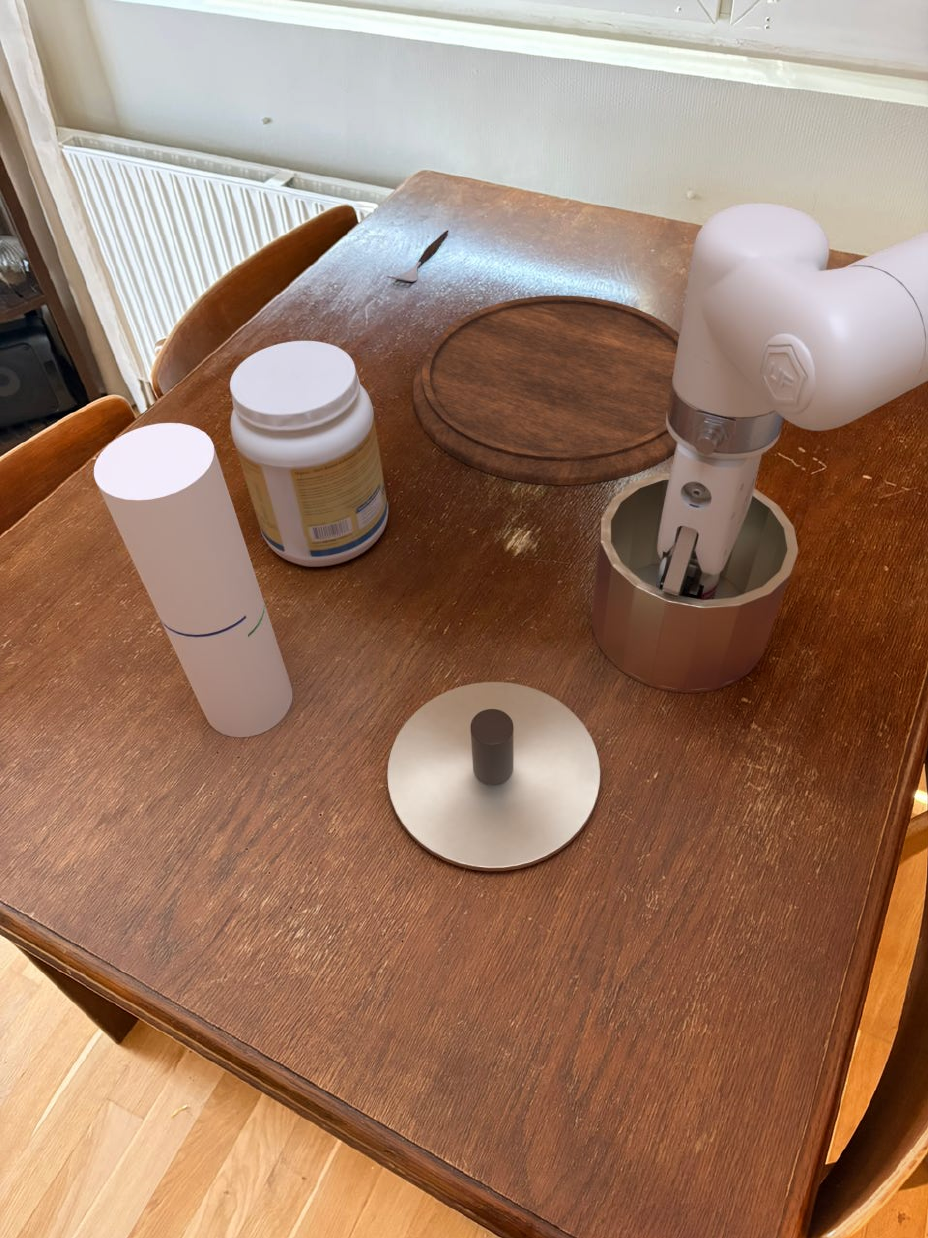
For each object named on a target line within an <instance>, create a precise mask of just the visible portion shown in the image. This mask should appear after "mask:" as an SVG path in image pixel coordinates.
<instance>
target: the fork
mask: <svg viewBox="0 0 928 1238" xmlns="http://www.w3.org/2000/svg"><path fill="white" fill-rule="evenodd" d="M449 231H450V230H449V229H447V230H445V231H444V232H443V233H441V235H439V236H438V237H437V238H436V239H435V240H434V241H433V242H431V243H430V245H428V246H427V247H426V249H424V251H423V253H422V254H421V255H420V258H419V259H418V260H417V262H416V264H415V265H413V267H411V268H410V269H408V270H407V271H405V272H403V273H402V274H400V275H399V276H391V275H386V277H387V278H389V279H393V280H398V281H403V282H410V283H412V282H416V281H418V280H419V273H418V268H419V267H420V265H422V264H423V263H424V262H425V261H427V260H428V259H429V258H430V257H431V256H433V255H434V254H435V252H436V251H437V250H438V249H439V246H441V243H442V242H443V241H444V240H445V238H446V236H447V235H448V233H449Z"/></svg>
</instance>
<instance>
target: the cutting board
mask: <svg viewBox="0 0 928 1238" xmlns="http://www.w3.org/2000/svg"><path fill="white" fill-rule="evenodd" d="M679 334H680V332H677V330H675V329H674V328H673V327H671V326H670V325H669V324H668V323H666V322H664V321H663V320H661V319H659V318H657V317H655V315H653V314H650V313H648V312H645V311H644V310H640V309H638V308H635V307H634V306H630V305H627V304H624V303H620V302H617V301H613V300H612V301H611V300H608V299H603V298H597V297H590V296H580V295H561V294H559V295H558V294H556V295H538V296H537V295H536V296H531V297H523V298H515V299H512V300H508V301H503V302H498V303H496V304H494V305H490V306H487V307H485V308H481V309H479V310H477V311H475V312H473V313H470V314H468V315H466V316H465V317H463V318H461V319H459V320H458V321H456V322H454V323H453V324H451V326H449V327H448V328H446V330H444V331H443V332H442V333H440V335H439V336H438V337H437V338H436V340H435V341H434V342H433V343H432V344H431V346H430V348H428V350H427V351H426V353H424V355H423V356H422V358H421V360H420V362H419V364H418V365H417V368H416V371H415V374H414V378H413V382H412V401H413V407H414V411H415V414H416V417H417V420H418V421H419V423H420V425H421V427H422V429H423V430H424V432H425V433H426V434H427V435H428V437H430V439H431V440H432V441H433V442H434V444H436V446H438V447H440V448H441V449H442V450H443V451H445V452H446V453H447V455H450V456H451V457H453V458H454V459H456V460H458V461H460V462H461V463H463V464H465V465H467V466H469V467H471V468H474V469H476V470H478V471H481V472H483V473H486V474H487V475H488V474H489V475H491V476H496V477H500V478H503V479H507V480H510V481H515V482H521V483H528V484H535V485H548V486H549V485H550V486H575V485H589V484H595V483H596V484H597V483H602V482H609V481H614V480H618V479H621V478H624V477H629V476H633V475H635V474H638V473H640V472H643V471H645V470H647V469H650V468H652V467H655V466H657V465H659V464H661V462H663V461H665V460H667V459H669V458H670V457H672V456H674V454H675V449H676V445H677V442H676V441H675V440H674V438H673V437H672V436H671V435H670V433H669V431H668V429H667V426H666V416H667V409H668V403H669V396H670V390H671V384H672V378H673V373H674V367H675V360H676V354H677V347H678V341H679Z"/></svg>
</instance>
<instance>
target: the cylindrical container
mask: <svg viewBox="0 0 928 1238" xmlns="http://www.w3.org/2000/svg"><path fill="white" fill-rule="evenodd" d="M93 478H94V480H95V483H96V485H97V488H98V489H99V491H100V494H101V496H102V498H103V500H104V503H105V504H106V507H107V509H108V511H109V513H110V515H111V518H112V519H113V523H114V524H115V526H116V528H117V531H118V533H119V535H120V536H121V539H122V541H123V543H124V545H125V548H126V549H127V552H128V554H129V556H130V558H131V560H132V563H133V565H134V567H135V569H136V571H137V573H138V575H139V577H140V579H141V581H142V584H143V586H144V589H145V590H146V593H147V594H148V597H149V599H150V601H151V603H152V605H153V607H154V610H155V611H156V614H157V616H158V619H159V620H160V622H161V624H162V627H163V629H164V630H165V633H166V635H167V637H168V639H169V641H170V644H171V645H172V646H171V647H172V648H173V650H174V653H175V654H176V656H177V659H178V661H179V663H180V665H181V667H182V669H183V672H184V674H185V676H186V678H187V680H188V683H189V685H190V687H191V689H192V691H193V693H194V695H195V697H196V699H197V701H198V704H199V706H200V708H201V710H202V712H203V714H204V717H205V718H206V721H207V722H208V724H209V725H210V727H211V728H213V729H214V730H215V731H217V732H218V733H220V734H221V735H223V736H227V737H231V738H250V737H254V736H258V735H261V734H263V733H265V732H267V731H269V730H271V729H273V728H274V727H276V726H277V725H278V724H279V723H280V722H281V721H282V720H283V719H284V718H285V717H286V715H287V714H288V712H289V710H290V708H291V706H292V702H293V695H294V694H293V688H292V687H293V686H292V684H291V681H290V678H289V674H288V671H287V668H286V665H285V663H284V660H283V655H282V653H281V649H280V647H279V644H278V640H277V637H276V635H275V634H276V633H275V631H274V629H273V625H272V622H271V619H270V616H269V613H268V609H267V607H266V604H265V600H264V597H263V594H262V590H261V588H260V585H259V582H258V578H257V576H256V572H255V569H254V567H253V563H252V561H251V556H250V554H249V551H248V547H247V544H246V541H245V538H244V535H243V532H242V530H241V526H240V523H239V520H238V516H237V514H236V511H235V507H234V504H233V501H232V498H231V495H230V492H229V488H228V485H227V483H226V479H225V476H224V474H223V470H222V467H221V464H220V461H219V458H218V454H217V452H216V449H215V445H214V443H213V441H212V439H211V437H210V436H209V435H208V434H207V433H206V432H205V431H203V430H201V429H200V428H199V427H195V426H193V425H190V424H185V423H180V422H179V423H178V422H162V423H155V424H150V425H149V424H148V425H145V426H141V427H138V428H135V429H133V430H131V431H128V432H126V433H124V434H123V435H120V436H119V437H117V438H115V439H114V440H113V441H111V442H110V443H109V444H108V445H107V446H105V448H104V449H103V450H102V451H101V452H100V454H99V455H98V457H97V459H96V460H95V463H94V467H93Z"/></svg>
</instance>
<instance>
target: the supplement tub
mask: <svg viewBox="0 0 928 1238" xmlns="http://www.w3.org/2000/svg"><path fill="white" fill-rule="evenodd" d="M229 390H230V395H231V402H232V407H233V408H232V411H231V416H230V433H231V438H232V441H233V443H234V447H235V450H236V453H237V456H238V460H239V463H240V467H241V469H242V473H243V476H244V480H245V483H246V486H247V490H248V493H249V496H250V500H251V502H252V506H253V510H254V513H255V516H256V519H257V522H258V526H259V530H260V533H261V535H262V537H263V539H264V541H265V542H266V544H267V545H268V546H269V548H270V549H271V550H272V551H273V552H274V553H275V554H276V555H278V556H279V557H281V558H282V559H283V560H286V561H288V562H290V563H293V564H295V565H299V566H303V567H315V568H316V567H317V568H318V567H329V566H333V565H339V564H342V563H345V562H347V561H350V560H352V559H354V558H357V557H358V556H360V555H361V554H363V553H365V552H366V551H367V550H369V549H370V548H371V547H372V546H373V545H374V544H375V543H376V542H378V540H379V538H381V535H382V534H383V532H384V530H385V528H386V526H387V524H388V518H389V517H388V516H389V504H388V503H389V502H388V500H387V492H386V487H385V481H384V474H383V468H382V461H381V460H382V459H381V454H380V448H379V440H378V434H377V433H378V432H377V427H376V421H375V411H374V406H373V404H372V401H371V397H370V395H369V394H368V392H367V390H366V389H365V387H364V386H363V385H362V384H361V382H360V377H359V376H358V373H357V370H356V365H355V362H354V361H353V359H352V357H351V356H350V354H348V352H346V351H345V350H343V349H342V348H340V347H339V346H336V345H334V344H331V343H326V342H323V341H315V340H292V341H287V342H282V343H277V344H274V345H270V346H268V347H265V348H263V349H261V350H258V351H256V352H254V353H253V354H251V355H250V356H248V357H246V358H245V359H244V360H243V361H242V362H241V363H239V364H238V365H237V367H236V368H235V370H234V371H233V373H232V374H231V377H230V381H229Z"/></svg>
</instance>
